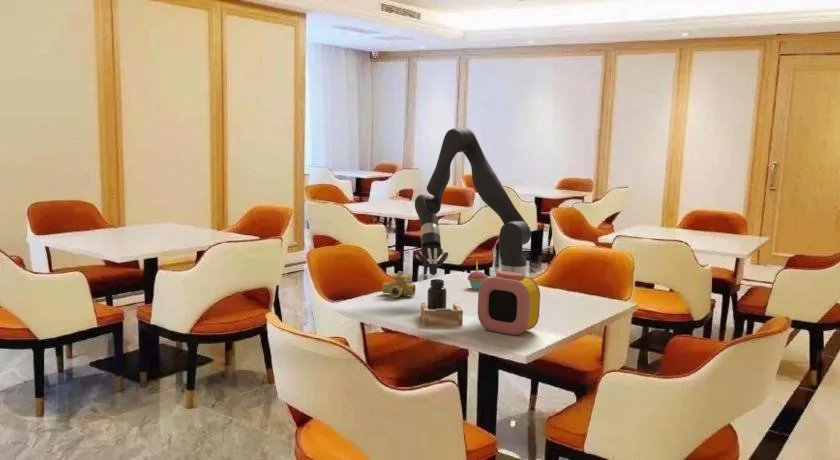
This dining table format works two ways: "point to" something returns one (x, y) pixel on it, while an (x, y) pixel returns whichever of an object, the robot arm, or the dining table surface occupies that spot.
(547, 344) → the dining table surface
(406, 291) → the ball valve
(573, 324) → the dining table surface
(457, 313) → the frame
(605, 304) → the dining table surface
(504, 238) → the robot arm
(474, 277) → the cupcake
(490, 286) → the alarm clock
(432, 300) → the supplement bottle
